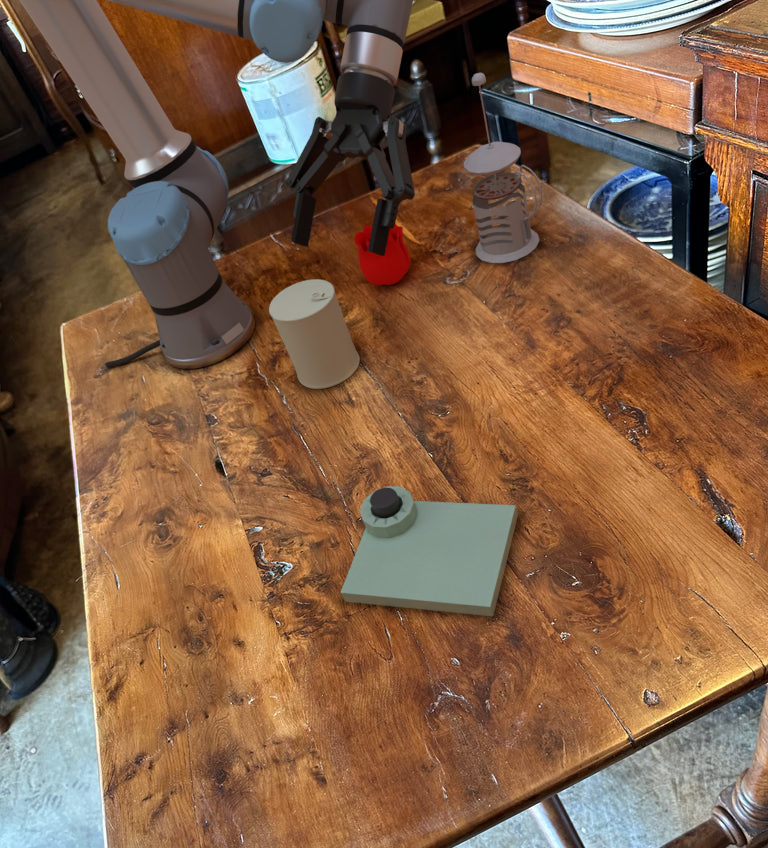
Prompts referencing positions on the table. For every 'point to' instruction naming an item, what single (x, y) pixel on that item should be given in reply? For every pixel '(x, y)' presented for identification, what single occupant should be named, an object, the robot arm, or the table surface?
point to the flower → (383, 257)
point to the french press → (511, 234)
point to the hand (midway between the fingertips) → (336, 249)
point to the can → (315, 333)
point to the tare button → (385, 502)
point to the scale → (432, 556)
